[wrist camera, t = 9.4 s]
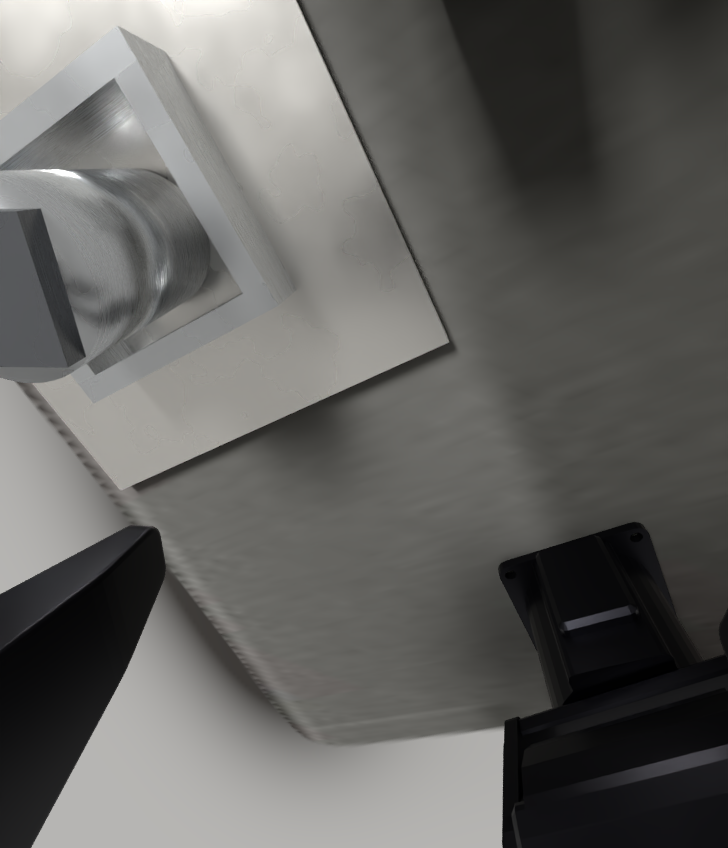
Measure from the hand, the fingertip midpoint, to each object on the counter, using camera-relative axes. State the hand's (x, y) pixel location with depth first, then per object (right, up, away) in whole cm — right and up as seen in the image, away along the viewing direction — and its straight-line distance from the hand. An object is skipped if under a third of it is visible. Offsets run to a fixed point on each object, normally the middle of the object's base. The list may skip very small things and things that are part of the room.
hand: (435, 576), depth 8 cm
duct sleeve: (-9, +9, +9) cm, 15 cm away
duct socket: (-9, +9, +10) cm, 16 cm away
